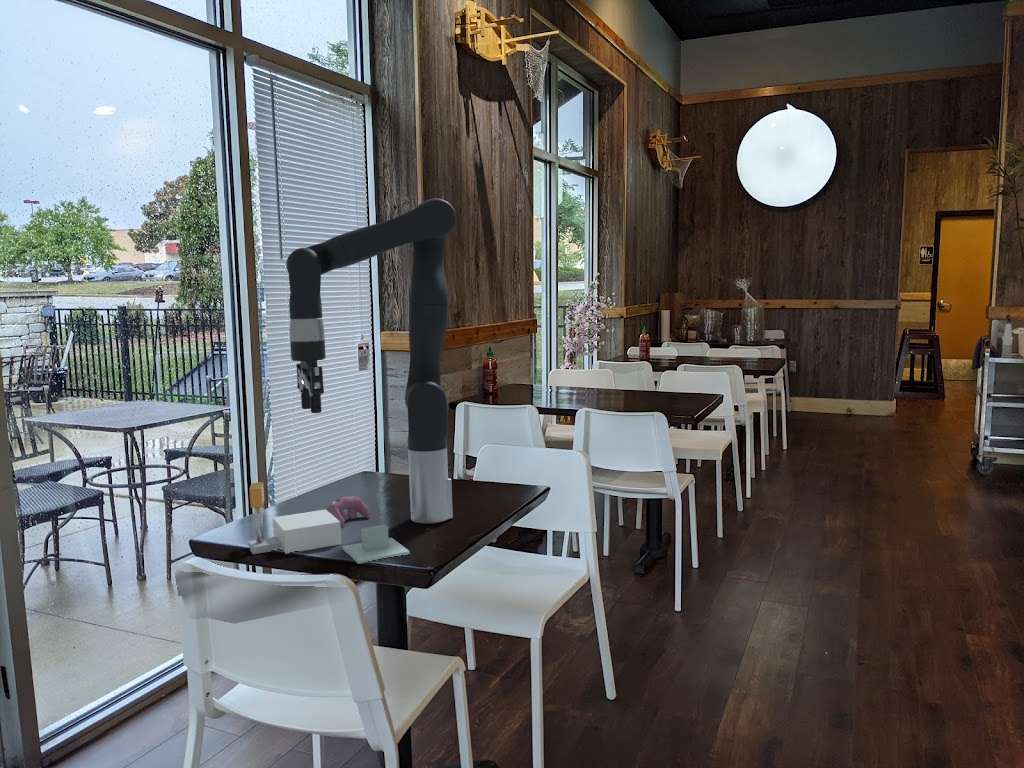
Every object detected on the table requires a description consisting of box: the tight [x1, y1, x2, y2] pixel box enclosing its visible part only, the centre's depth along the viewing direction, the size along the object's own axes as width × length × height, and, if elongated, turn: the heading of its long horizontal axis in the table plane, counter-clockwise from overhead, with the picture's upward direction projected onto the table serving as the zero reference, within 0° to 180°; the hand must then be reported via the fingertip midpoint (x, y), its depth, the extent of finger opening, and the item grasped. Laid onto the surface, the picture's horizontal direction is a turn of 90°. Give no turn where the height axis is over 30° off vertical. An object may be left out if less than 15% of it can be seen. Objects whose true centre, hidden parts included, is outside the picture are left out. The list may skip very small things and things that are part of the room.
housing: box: [248, 509, 342, 555], centre depth 176 cm, size 18×12×5 cm, turn 118°
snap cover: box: [342, 524, 411, 565], centre depth 169 cm, size 11×11×6 cm
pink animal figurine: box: [326, 495, 371, 528], centre depth 193 cm, size 10×5×7 cm, turn 143°
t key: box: [249, 481, 265, 542], centre depth 174 cm, size 9×2×12 cm, turn 14°
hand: (311, 410), depth 181 cm, fingers open, 8 cm apart
